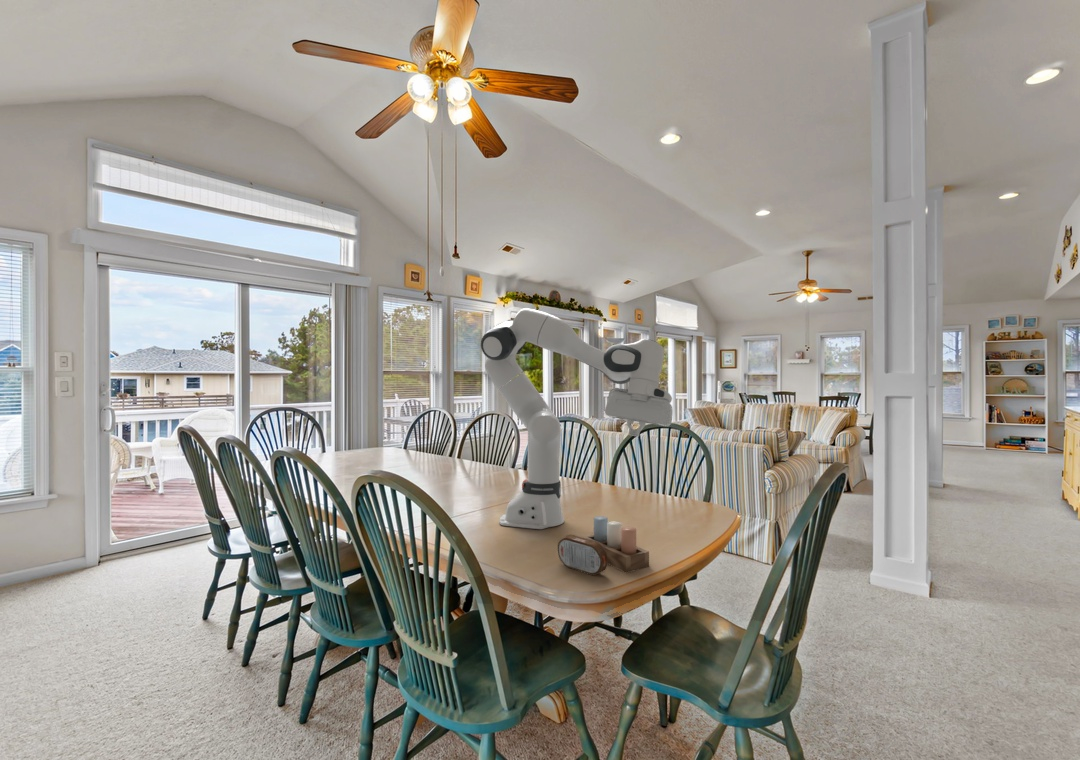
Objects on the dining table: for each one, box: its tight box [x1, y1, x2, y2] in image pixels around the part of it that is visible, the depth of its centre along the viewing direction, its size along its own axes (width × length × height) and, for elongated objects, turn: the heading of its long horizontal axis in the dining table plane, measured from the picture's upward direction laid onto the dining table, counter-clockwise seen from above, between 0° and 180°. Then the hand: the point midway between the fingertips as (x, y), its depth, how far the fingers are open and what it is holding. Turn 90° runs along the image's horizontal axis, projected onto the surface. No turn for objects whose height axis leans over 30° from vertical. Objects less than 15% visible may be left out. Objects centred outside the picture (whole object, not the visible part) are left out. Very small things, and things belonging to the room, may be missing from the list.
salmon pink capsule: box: [621, 526, 637, 555], centre depth 136 cm, size 4×4×8 cm
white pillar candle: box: [607, 520, 623, 548], centre depth 141 cm, size 4×4×8 cm
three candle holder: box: [581, 534, 650, 574], centre depth 141 cm, size 19×8×4 cm, turn 31°
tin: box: [557, 534, 609, 576], centre depth 133 cm, size 15×3×8 cm, turn 48°
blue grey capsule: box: [593, 515, 609, 542], centre depth 146 cm, size 4×4×8 cm
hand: (633, 435), depth 152 cm, fingers closed
